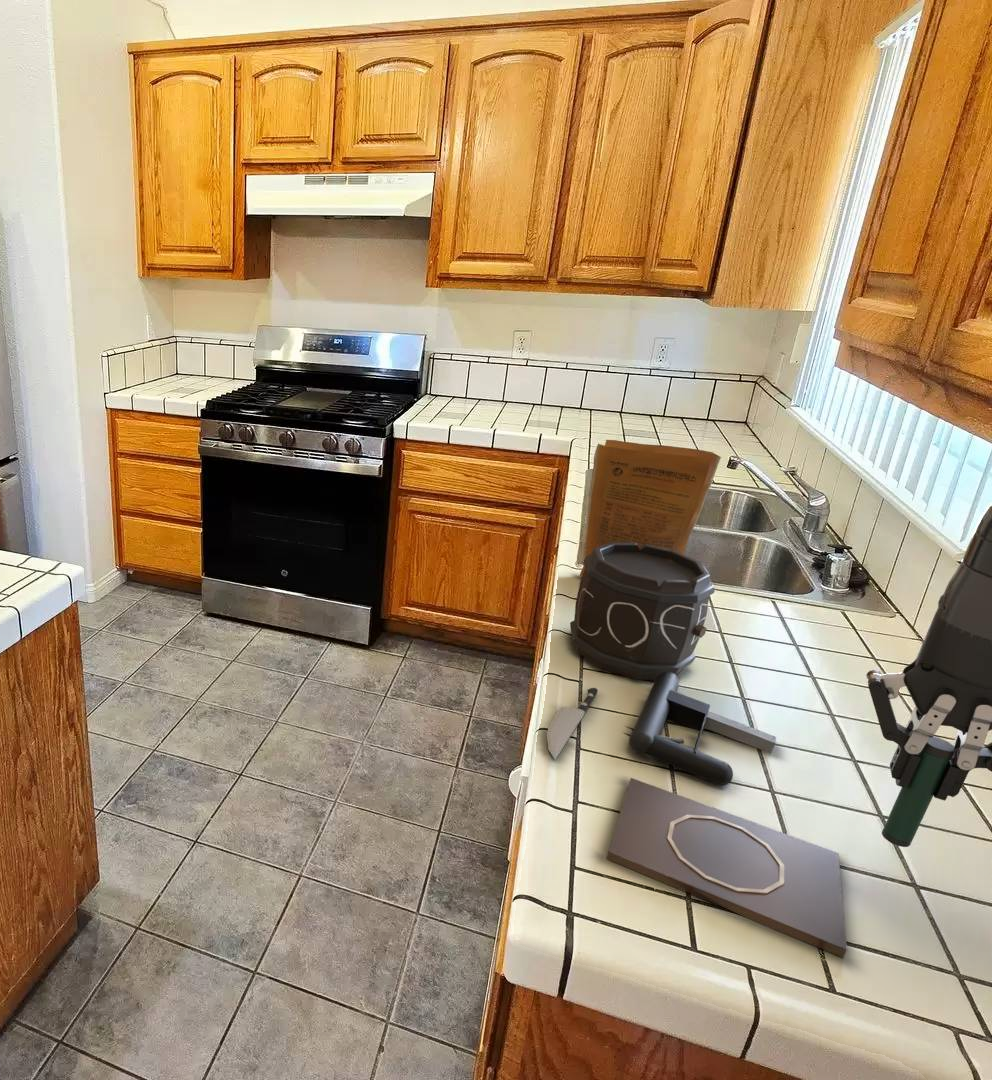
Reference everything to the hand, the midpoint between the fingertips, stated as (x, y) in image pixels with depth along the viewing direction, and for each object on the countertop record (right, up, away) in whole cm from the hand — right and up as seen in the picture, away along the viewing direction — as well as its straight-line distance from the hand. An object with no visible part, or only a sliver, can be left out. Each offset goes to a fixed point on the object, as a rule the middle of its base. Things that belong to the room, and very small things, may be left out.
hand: (919, 787), depth 70 cm
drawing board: (-14, -10, +8) cm, 19 cm away
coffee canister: (-4, +5, +47) cm, 48 cm away
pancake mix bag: (+5, +14, +70) cm, 72 cm away
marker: (0, -6, +2) cm, 6 cm away
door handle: (-5, -3, +28) cm, 28 cm away
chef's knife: (-21, -1, +30) cm, 36 cm away
